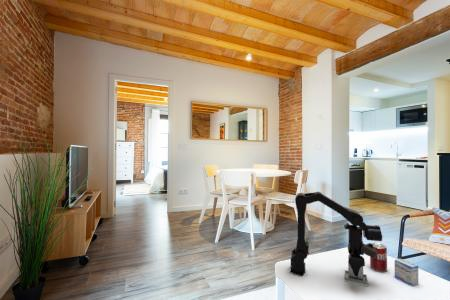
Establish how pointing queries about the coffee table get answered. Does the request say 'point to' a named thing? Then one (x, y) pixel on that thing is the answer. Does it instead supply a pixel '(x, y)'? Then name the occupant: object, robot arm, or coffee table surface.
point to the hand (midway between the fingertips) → (355, 271)
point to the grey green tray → (355, 281)
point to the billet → (351, 274)
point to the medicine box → (406, 272)
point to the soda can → (379, 258)
